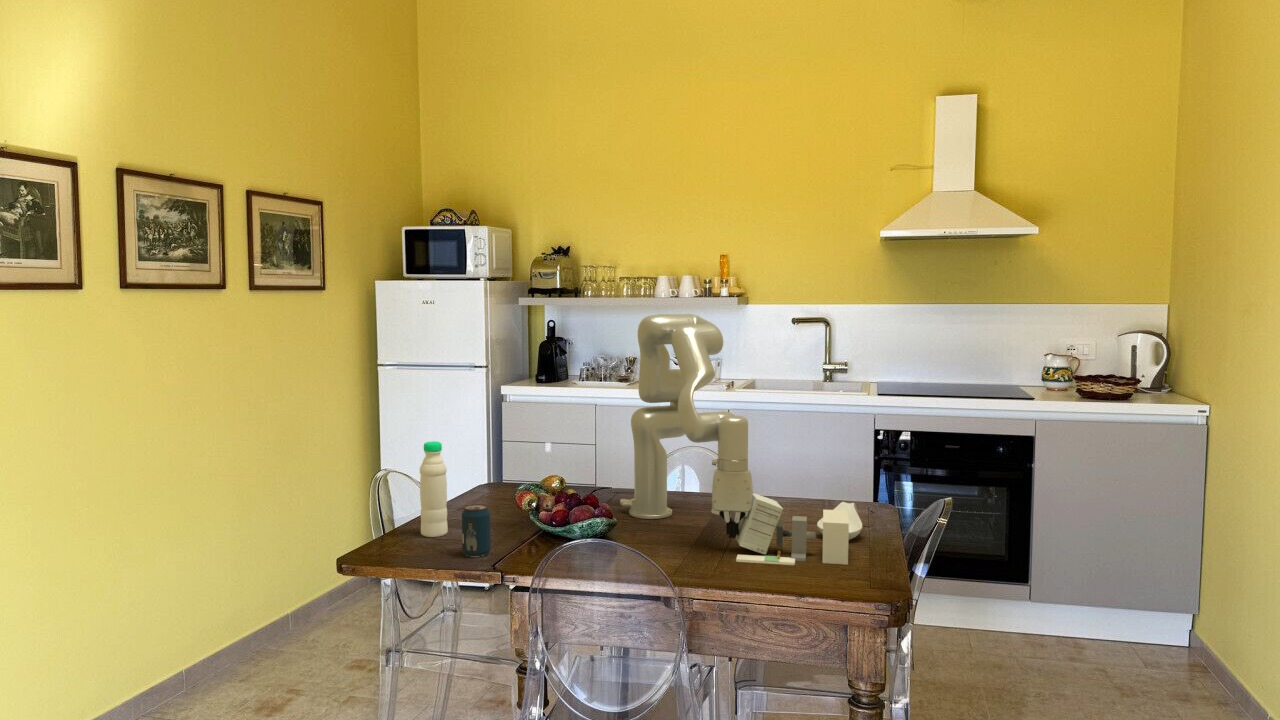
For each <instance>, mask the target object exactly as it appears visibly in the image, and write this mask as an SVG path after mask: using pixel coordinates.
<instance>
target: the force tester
mask: <svg viewBox="0 0 1280 720" xmlns="http://www.w3.org/2000/svg"><path fill="white" fill-rule="evenodd" d="M822 511H823V513H822V518H823V534H822V564H830V565H831V564H832V565H849V540H848V538H849V521H848V511H844V510H833V509H822ZM807 519H808V517H807V516H803V515H802V516H801V515H800V516H799V515H792V519H791V520H792V521H791V531H792V537H791V556H790V557H788V556H787V557H785V556H780V558H777V555H752V554H751V555H750V554H737V556H736V559H735V562H736V563H751V564H754V563H755V564H770V565H784V566H785V565H786V566H795V565H796V562H807V561H806V560H807V549H808V547H807V546H808V544H807V543H808V542H807V540H808V538H806V531H807V532H808V520H807Z"/></svg>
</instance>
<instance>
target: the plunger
mask: <svg viewBox="0 0 1280 720" xmlns="http://www.w3.org/2000/svg"><path fill="white" fill-rule="evenodd" d="M785 538H792V530H786V529H785V521H784V520H780V519H779V521H778V524H777V527H776V543H775V544H776V545H775V546H776V547H779V548H781V547H783V545H784V540H785ZM806 538H807V539H817V531H808V530H807V531H806ZM776 556H777V558H780V557H781V550H777V555H776Z"/></svg>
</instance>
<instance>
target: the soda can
mask: <svg viewBox="0 0 1280 720" xmlns="http://www.w3.org/2000/svg"><path fill="white" fill-rule="evenodd" d="M463 508H464V509H463V511H462V513H461V545H462V546H461V548H462V549H461V550H462V552H463V555H465V556H466V555H467V556H466V557H468V556H482V555H486V554H487V555H488V554H489V553H490V551H491V547H492V546H491V541H492V540H491V512H490V511H489V508H488V505H487V504H482V503H476V504H475V503H474V504H473V503H472V504H467V505H464V507H463ZM487 555H486V556H487Z"/></svg>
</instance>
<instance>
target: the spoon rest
mask: <svg viewBox="0 0 1280 720" xmlns="http://www.w3.org/2000/svg"><path fill="white" fill-rule="evenodd" d="M832 510H844V511H848V521H849V538H848V541H850V540H852V539H854V538H856V537H857V536H858V535H859V534H860V533H861V531H862V529H863V522H862V520H861V518H860V516H859V512H858V511H859V510H858V509H857V505H856V503H855V502H851V503H849V502H845V501H842V502H840V503H839V504H838V505H837V506H836V507H835V508H833V509H832ZM816 526H817V529H818V531H819V532H820V533H821V534H822V535H823V517H821V518H820V519H819V520H818V521H817V523H816Z"/></svg>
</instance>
